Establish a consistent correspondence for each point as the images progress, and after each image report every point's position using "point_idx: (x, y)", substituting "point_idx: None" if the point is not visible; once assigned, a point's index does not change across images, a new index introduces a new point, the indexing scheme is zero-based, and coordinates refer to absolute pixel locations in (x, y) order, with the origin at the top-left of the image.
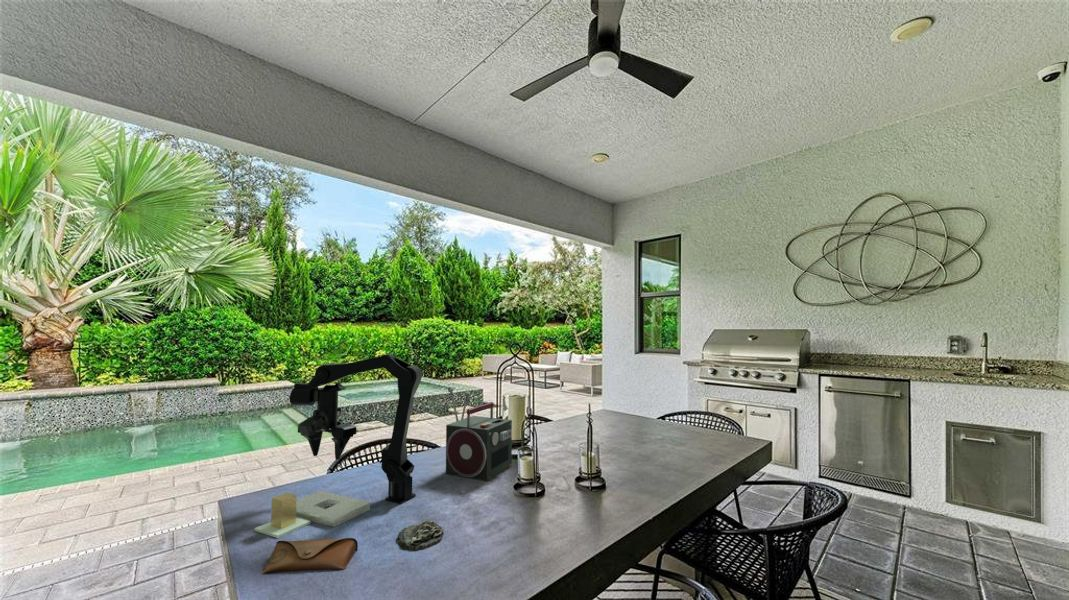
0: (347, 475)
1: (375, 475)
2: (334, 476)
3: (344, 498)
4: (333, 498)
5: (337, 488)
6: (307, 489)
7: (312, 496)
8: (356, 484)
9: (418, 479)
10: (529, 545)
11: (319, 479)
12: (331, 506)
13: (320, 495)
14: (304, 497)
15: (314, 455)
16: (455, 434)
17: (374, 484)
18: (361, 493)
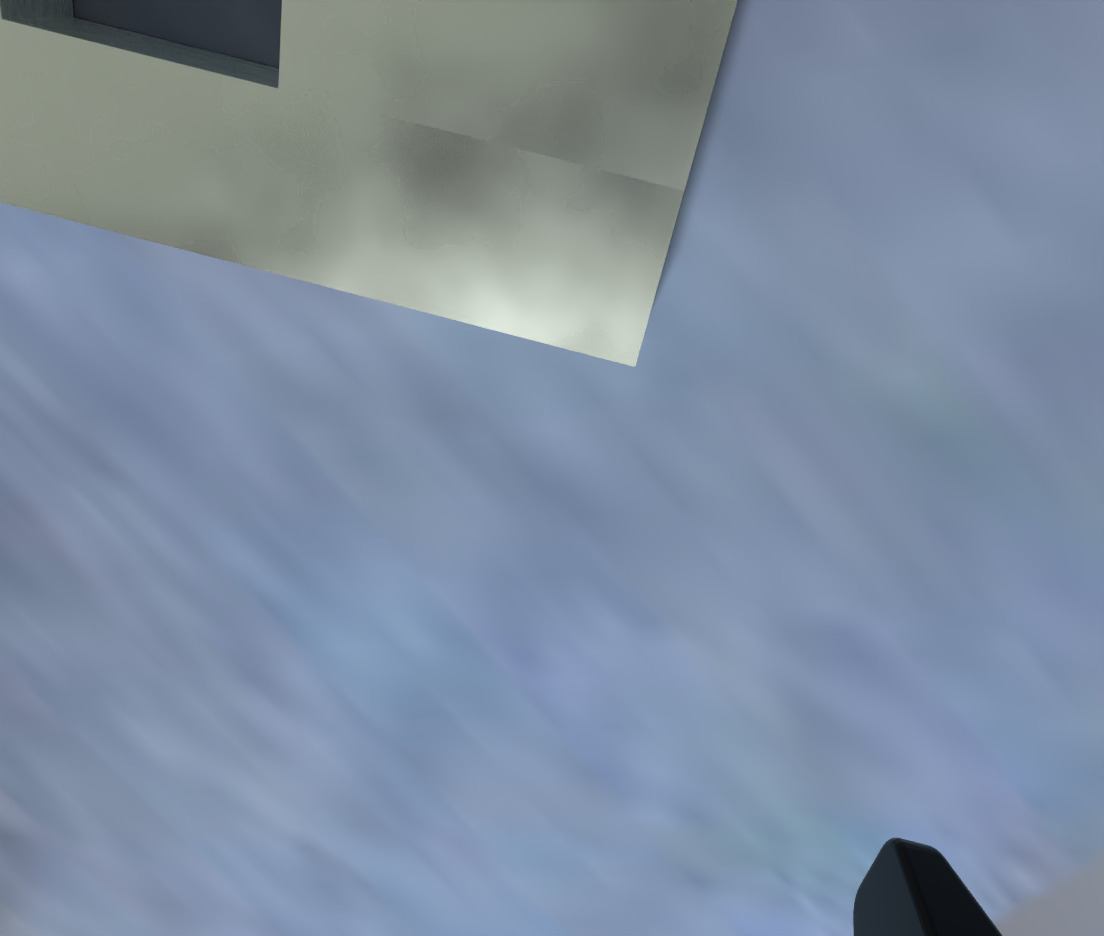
0: (773, 916)
1: (481, 916)
2: None
3: (86, 165)
4: (229, 127)
5: (636, 614)
6: (1027, 547)
7: (607, 120)
8: (501, 725)
9: (45, 848)
10: None
11: (1050, 821)
12: (263, 66)
13: (511, 192)
14: (718, 45)
15: (897, 853)
16: None
17: (319, 736)
18: (258, 520)
